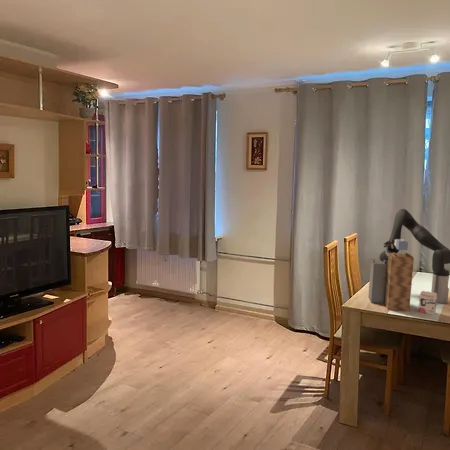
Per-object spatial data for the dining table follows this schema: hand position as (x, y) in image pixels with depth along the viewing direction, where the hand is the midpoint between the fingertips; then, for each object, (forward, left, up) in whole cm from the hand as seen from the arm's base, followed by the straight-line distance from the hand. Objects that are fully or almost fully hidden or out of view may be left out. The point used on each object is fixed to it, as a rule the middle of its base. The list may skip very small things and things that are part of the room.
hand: (397, 240), depth 287 cm
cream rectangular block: (0, +6, -3) cm, 7 cm away
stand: (0, +13, -39) cm, 41 cm away
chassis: (+9, 0, -39) cm, 40 cm away
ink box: (-16, +17, -39) cm, 45 cm away
